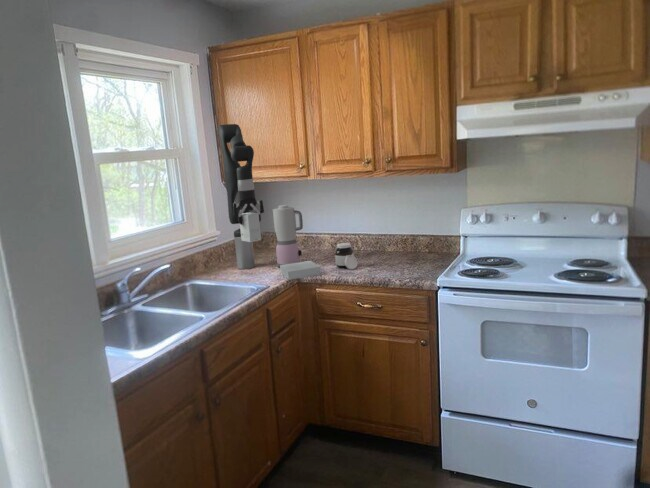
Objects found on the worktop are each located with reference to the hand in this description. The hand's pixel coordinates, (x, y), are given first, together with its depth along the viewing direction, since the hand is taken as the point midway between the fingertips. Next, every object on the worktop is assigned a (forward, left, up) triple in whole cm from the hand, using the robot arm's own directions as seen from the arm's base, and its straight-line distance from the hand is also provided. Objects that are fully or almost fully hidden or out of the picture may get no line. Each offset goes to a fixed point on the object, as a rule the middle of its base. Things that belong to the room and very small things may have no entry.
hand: (250, 223), depth 232 cm
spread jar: (+7, +45, -27) cm, 53 cm away
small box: (0, 0, -9) cm, 9 cm away
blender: (-15, +22, -27) cm, 38 cm away
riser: (+5, +21, -27) cm, 35 cm away
